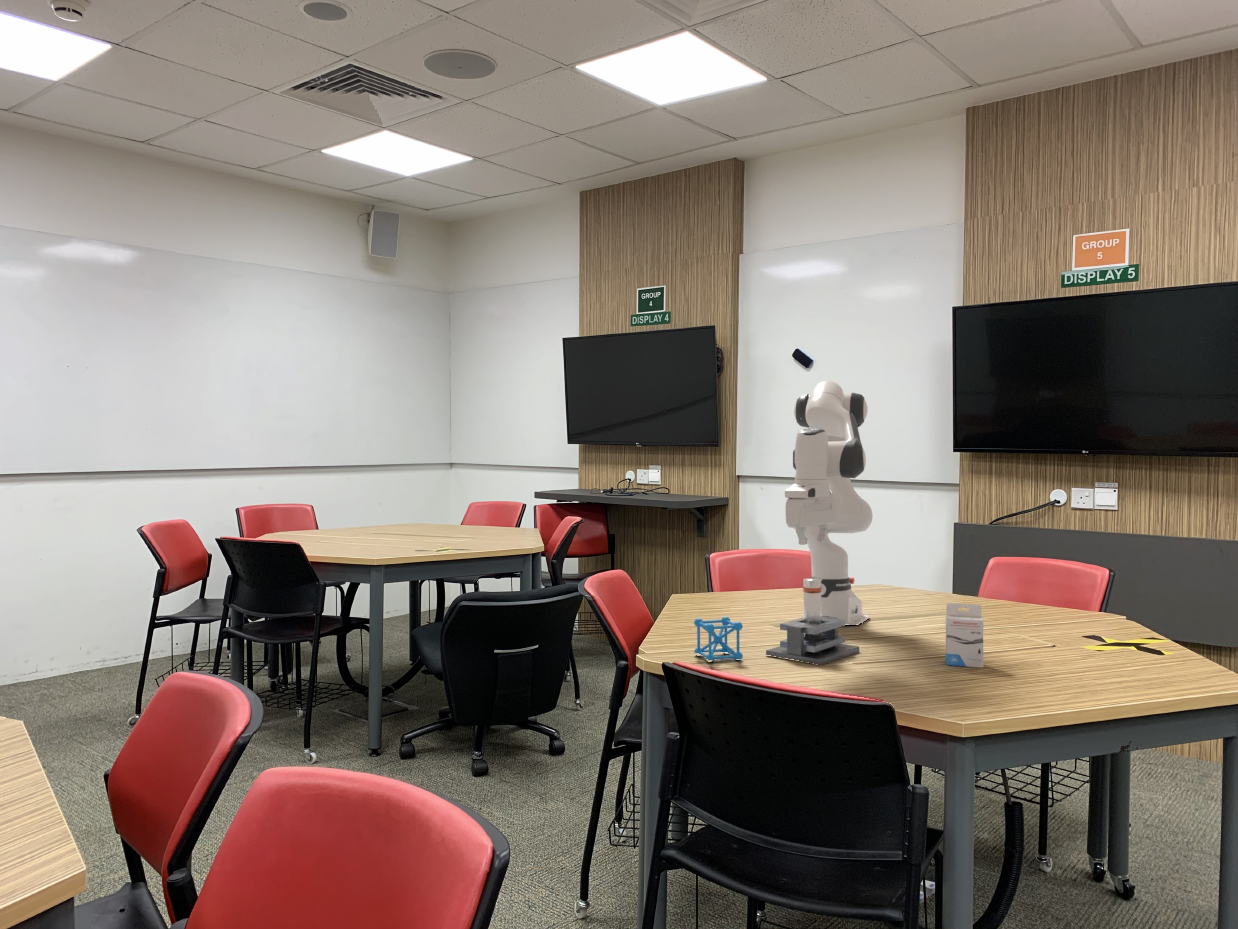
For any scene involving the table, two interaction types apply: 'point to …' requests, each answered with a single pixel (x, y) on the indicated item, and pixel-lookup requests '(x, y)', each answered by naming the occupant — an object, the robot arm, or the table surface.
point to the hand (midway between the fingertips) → (812, 543)
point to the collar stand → (810, 650)
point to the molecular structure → (718, 638)
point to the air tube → (812, 606)
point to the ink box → (964, 635)
